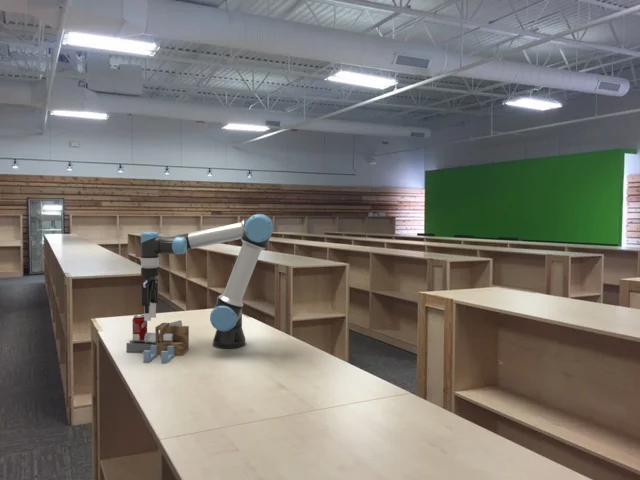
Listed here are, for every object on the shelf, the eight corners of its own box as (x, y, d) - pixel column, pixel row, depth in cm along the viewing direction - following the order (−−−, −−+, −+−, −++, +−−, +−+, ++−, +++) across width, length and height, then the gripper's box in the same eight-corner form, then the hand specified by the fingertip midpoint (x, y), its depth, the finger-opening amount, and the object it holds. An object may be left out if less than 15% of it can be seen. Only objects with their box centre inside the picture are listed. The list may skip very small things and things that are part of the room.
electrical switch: (171, 343, 254) (170, 323, 254) (163, 342, 257) (162, 323, 257) (185, 339, 263) (184, 320, 262) (177, 338, 265) (176, 319, 265)
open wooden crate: (188, 350, 243) (188, 323, 242) (182, 355, 235) (182, 328, 234) (162, 349, 244) (162, 322, 243) (155, 354, 235) (155, 327, 234)
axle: (174, 343, 241) (174, 332, 241) (170, 345, 236) (171, 334, 236) (148, 343, 242) (148, 331, 242) (144, 344, 237) (144, 333, 237)
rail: (160, 350, 242) (160, 341, 242) (156, 353, 237) (156, 344, 237) (130, 349, 243) (130, 340, 242) (126, 352, 238) (126, 343, 238)
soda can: (138, 343, 254) (137, 318, 253) (129, 340, 258) (129, 315, 257) (150, 340, 259) (150, 315, 258) (142, 337, 263) (141, 313, 262)
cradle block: (174, 356, 233) (174, 345, 233) (166, 363, 224) (166, 352, 223) (151, 355, 233) (151, 345, 233) (143, 362, 224) (143, 351, 224)
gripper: (149, 264, 247) (149, 314, 248) (133, 269, 228) (133, 323, 230) (165, 264, 246) (165, 314, 248) (150, 269, 228) (150, 323, 229)
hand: (150, 318), depth 239 cm, fingers open, 5 cm apart
